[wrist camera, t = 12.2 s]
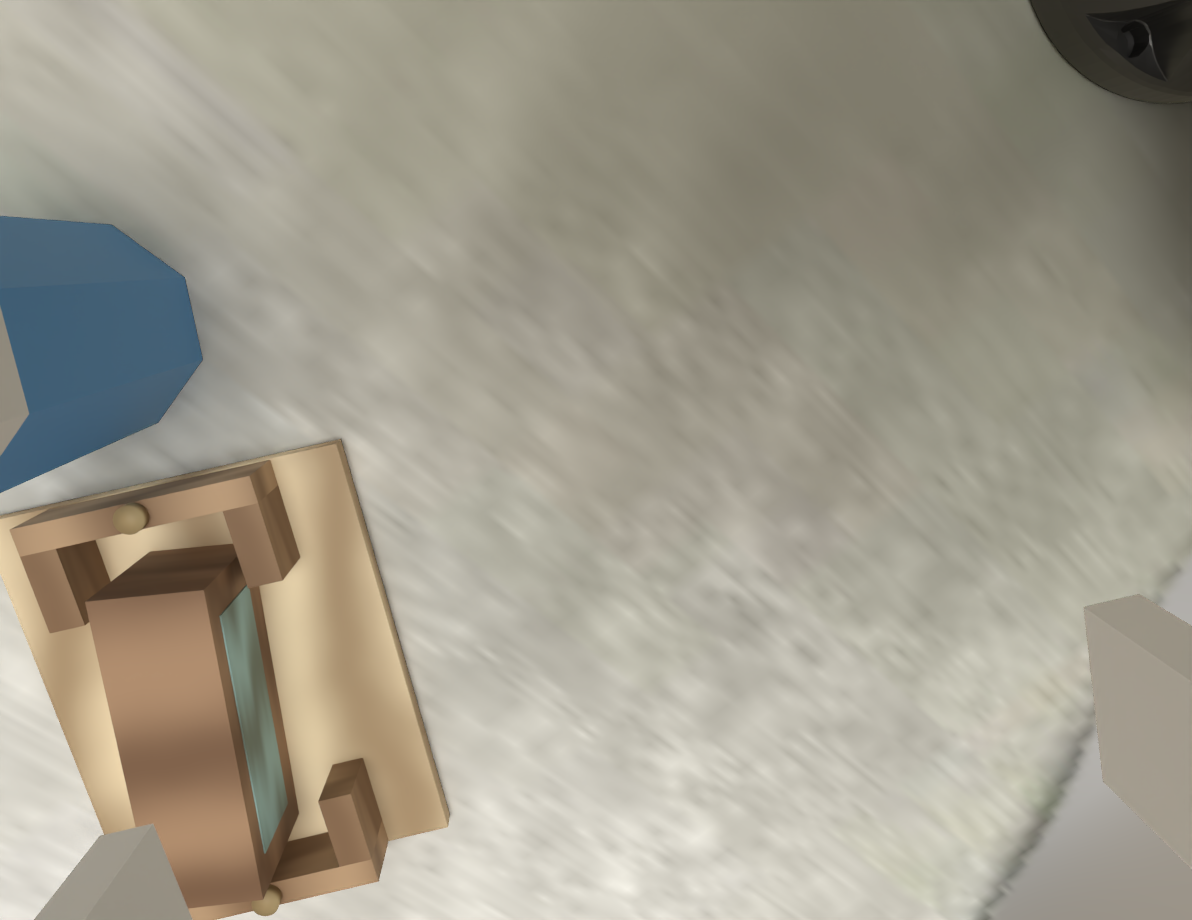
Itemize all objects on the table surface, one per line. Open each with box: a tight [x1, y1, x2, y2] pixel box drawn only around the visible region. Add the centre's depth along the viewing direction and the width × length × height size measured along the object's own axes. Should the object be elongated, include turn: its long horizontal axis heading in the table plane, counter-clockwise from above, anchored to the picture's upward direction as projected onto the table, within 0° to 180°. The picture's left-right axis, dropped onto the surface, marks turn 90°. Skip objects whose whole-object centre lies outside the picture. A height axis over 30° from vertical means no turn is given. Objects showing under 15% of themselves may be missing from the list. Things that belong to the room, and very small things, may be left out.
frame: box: [85, 544, 299, 909], centre depth 39 cm, size 14×5×6 cm, turn 5°
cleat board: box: [0, 439, 450, 920], centre depth 40 cm, size 16×20×5 cm
